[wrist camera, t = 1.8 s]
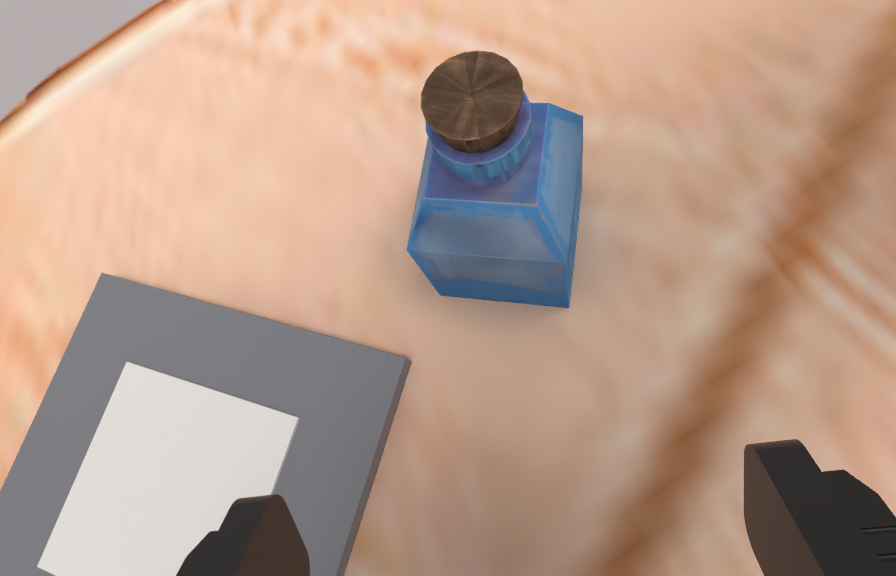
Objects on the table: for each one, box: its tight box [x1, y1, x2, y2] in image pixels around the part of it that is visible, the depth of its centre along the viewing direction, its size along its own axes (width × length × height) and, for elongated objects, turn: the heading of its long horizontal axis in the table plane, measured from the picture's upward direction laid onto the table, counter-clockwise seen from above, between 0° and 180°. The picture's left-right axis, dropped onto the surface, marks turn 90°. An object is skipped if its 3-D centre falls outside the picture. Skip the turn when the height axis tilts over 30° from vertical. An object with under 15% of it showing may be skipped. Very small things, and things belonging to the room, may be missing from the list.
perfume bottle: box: [407, 51, 583, 308], centre depth 24 cm, size 6×6×12 cm
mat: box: [0, 273, 411, 576], centre depth 28 cm, size 18×18×1 cm
